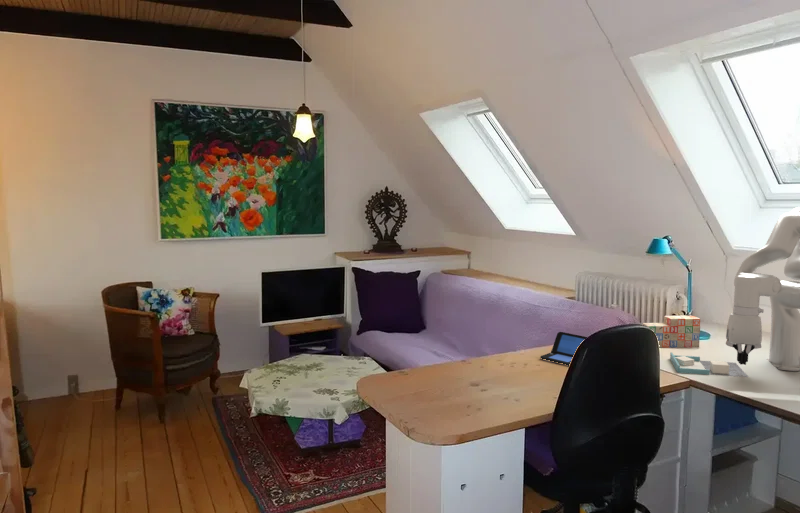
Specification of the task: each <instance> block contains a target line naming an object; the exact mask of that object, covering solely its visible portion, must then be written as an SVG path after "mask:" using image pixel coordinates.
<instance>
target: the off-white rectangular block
mask: <svg viewBox="0 0 800 513" xmlns="http://www.w3.org/2000/svg"><path fill="white" fill-rule="evenodd" d="M709 361H710V370H711V371H712V372H713V373H724V374H729V365H728V363H727V362H728V361H719V360H709Z"/></svg>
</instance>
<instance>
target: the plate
mask: <svg viewBox="0 0 800 513" xmlns="http://www.w3.org/2000/svg"><path fill="white" fill-rule="evenodd" d="M710 361H711V360H700V361H699V362H700V364H701V365H702V366H703V368H704V369H705V370H710ZM726 362H727V363H728V365H729V374H724V373H713V372H712V371H711V370H710V372H709V376H710V375H712V376H727V377H741V378H743V377H744V378H749V375H748V374H746V372H745V371H744V370H743V369H742V368H741V367H740V366H739V365H738V364H737V363H736V362H729V361H726Z"/></svg>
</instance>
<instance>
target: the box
mask: <svg viewBox="0 0 800 513" xmlns="http://www.w3.org/2000/svg"><path fill="white" fill-rule="evenodd" d="M680 356H681V355H675V354H674V353H673V352H670V354H669V357H670V358H669V359H670V362H671V363H672V365H673V366H674V369H675V370H676V372H677V373H678V374H694V375H709V372H710V370H706V369H705V368H704V369H703V368H702V369H701V368H688V367H687V368H685V367H681V365H680V364H679V363H678V362H677V360H676V358H675V357H680ZM684 356H685V357H688V358H691V359H694V362H700V361H701V357H700V356H692V355H684ZM709 376H710V375H709Z"/></svg>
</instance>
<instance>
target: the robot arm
mask: <svg viewBox="0 0 800 513" xmlns="http://www.w3.org/2000/svg"><path fill="white" fill-rule="evenodd" d="M783 260H786V262H785V265H784V267H783V273H784V275H785V276H786V278H788V279H790V280H784V279H783V280H782V279H781V280H780V278H779V277H777V276H775V275H771V274H767V273H757V272H756V271H758V270H759V269H760V268H761V267H764V266H766V265H769V264H773V263H776V262H780V261H783ZM794 280H795V281H794ZM733 284H734V292H733V294H734V295H733V307H732V308H733V309H732V313H729V316H728V320H727V325H726V326H727V327H726V333H725V339H726V342H725V345H726V346H728V347H730V348H731V347H732V348H734V350H736V352H737V354H736V361H737V362H738V364H739V365H745V366H746V365H747V363H748V361H749V354H750V353H751V352H752V351H753V350H757V349H761V348H762V340H763V328H762V326H763V325H762V317H761V316H760V314H763V313H764V312H765V311H764V308H760V298H761V297H769V300H770V308H771V310H770V311H771V313H770V314H771V320H770V336H769V352H768V353H769V356H768V358H767V359H766V360H767V362H769V363H770V364H771V365H772V366H773V367H774V368H775V369H776V370H780V371H786V372H787V371H790V372H797V371H798V372H799V371H800V311H799V310H800V206H798V207H795V208H793V209H791V211H789V212H785V213H783V214H781V215H780V216H779V218H778V219H777V220H776V223H775V224H774V228H773V229H772V231H771V233H770V235H769V237H768V239H767V241H766V243H765V245H764V246H762V247H761V248H759V249H757V250H756V251H754V252H752V253H751V254H750V255H749V256H747V257H746V258H745V259H744V260H743V261H742V262H741V263H740V266H739V267H738V269H737V272H736V274H735V277H734V280H733ZM742 345H744V346H742ZM743 347H744V348H743Z"/></svg>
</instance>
